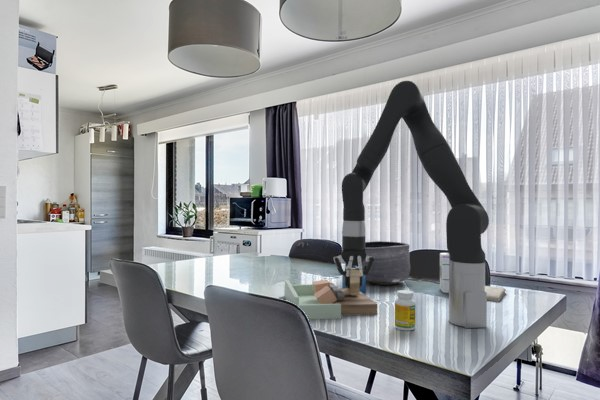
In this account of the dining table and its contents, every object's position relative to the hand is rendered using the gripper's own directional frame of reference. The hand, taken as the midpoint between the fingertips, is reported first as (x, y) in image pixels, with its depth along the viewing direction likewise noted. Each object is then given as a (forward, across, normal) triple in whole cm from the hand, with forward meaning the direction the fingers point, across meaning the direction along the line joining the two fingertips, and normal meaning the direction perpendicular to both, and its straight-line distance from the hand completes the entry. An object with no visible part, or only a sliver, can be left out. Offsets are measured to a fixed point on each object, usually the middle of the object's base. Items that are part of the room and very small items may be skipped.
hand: (353, 287), depth 126 cm
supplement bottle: (+6, +7, -24) cm, 26 cm away
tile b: (+3, -9, +4) cm, 11 cm away
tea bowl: (+6, +22, +34) cm, 41 cm away
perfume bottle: (+6, +5, +17) cm, 19 cm away
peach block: (+4, -9, -4) cm, 11 cm away
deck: (+6, -2, 0) cm, 6 cm away
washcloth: (+7, +53, +10) cm, 54 cm away
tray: (+6, -14, 0) cm, 15 cm away
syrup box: (+6, +42, +16) cm, 45 cm away
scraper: (+2, -3, 0) cm, 3 cm away
